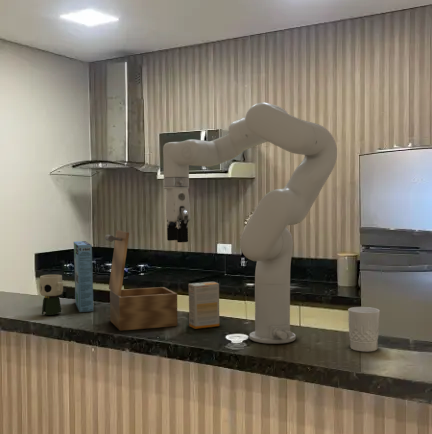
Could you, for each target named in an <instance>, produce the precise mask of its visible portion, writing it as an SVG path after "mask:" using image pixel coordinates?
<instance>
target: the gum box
mask: <svg viewBox="0 0 432 434" xmlns="http://www.w3.org/2000/svg"><path fill="white" fill-rule="evenodd" d="M73 261H74V265H73V266H74V298H75V300H74V301H75V302H74V304H75V305H76V308H77V310H78V312H79V313H86V312H87V313H88V312H94V280H93V279H94V278H93V277H94V276H93V245H92V244H91V243H89V242H88V241H86V240H84V241H83V240H80V241H79V240H77V241H73Z"/></svg>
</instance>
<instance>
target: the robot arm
mask: <svg viewBox="0 0 432 434" xmlns="http://www.w3.org/2000/svg"><path fill="white" fill-rule="evenodd" d="M266 143H270V144H272V145H274V146H276V147H278V148H280V149H282V150H284V151H287V152H289V153H292V154H294V155H301V156H302V155H303V156H304V157H303V159H302V161H301V163H299V164H298V166H297V167H296V168H295V169H294V171H293V172H292V175H291V177H290V178H289V180H288V181H287V183H286V184H285V186H284V187H282V188H276V189H272V190H270V191H269V192H266V194H265V195H264V196H263V197H262V198H261V199H260V200H259V202H258V204H257V206H256V207H255V209H254V211H253V213H252V215H251V216H250V218H249V219H248V222H247V223H246V225H245V226H244V228H243V230H242V233H241V235H240V240H239V246H240V251H241V253H242V255H244V257H245V258H247V259H248V260H250V261H253V262H256V263H255V264H256V265H255V272H254V330H253V331H252V332H250V333H249V335H248V336H249V340H250V341H253V342H255V343H259V344H270V345H271V344H272V345H279V344H280V345H281V344H288V343H292V342H294V341H295V340H296V339H297V336H296V334H295V333H294V332H292V331H291V263H292V255H293V249H294V239H293V235H292V232H291V231H290V230H289V229H288V228H287V227H288V226H293V225H298V224H301V222H303V221H304V220H305V218H306V217H307V215H308V214H309V212H310V210H311V208H312V206H313V204H314V203H315V201H316V200H317V198H318V197H319V195H320V193H321V191H322V189H323V187H324V185H325V184H326V182H327V181H328V179H329V177H330V175H331V174H332V172H333V171H334V168H335V165H336V163H337V158H338V148H337V144H336V141H335V138H334V137H333V134H332V133H331V132H330V131H329V129H327V128H326V127H324V126H323V125H321V124H319V123H316V122H313V121H308V120H303V119H301V118H298V117H296V116H294V115H291V114H289V112H288V111H287V110H285V108H283V107H281V106H279V105H276V104H273V103H270V102H257V103H255V104H253V105H251V107H250V108H249V109H248V110H247V112H246V114H245V116H244V117H242V118H239V119H237V120H234V121H232V122H231V123H230V124H229V126H228V133H226V134H225V135H223V136H220V137H218V138H215V139H212V140H210V141H208V140H201V139H192V138H191V139H186V140H183V141H169V142H166V143H164V145H163V146H162V152H163V153H162V155H163V157H162V159H163V160H162V162H163V189H164V190H166V191H165V218H166V240H167V241H169V242H170V241H176V242H177V243H188V242H189V222H190V221H191V205H190V204H191V203H190V202H191V201H190V193H189V189H190V167H189V166H193V167H206V168H208V167H209V168H210V167H214V166H217V165H220V164H223V163H225V162H227V161H231V160H233V159H234V158H236V157H238V156H240V155H241V154H242V153H243V152H245V151H247V150H249V149H252V148H254V147H257V146H260V145H262V144H266Z"/></svg>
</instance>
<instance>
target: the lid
mask: <svg viewBox="0 0 432 434" xmlns="http://www.w3.org/2000/svg"><path fill="white" fill-rule="evenodd" d="M115 232H116V233H115V236H114V235H112V234H105V236H104V240H105V241H108V242H114V245H113V246H114V247H113V253H112V261H111V267H110V269H111V270H110V274H109V275H110V276H109V284H108V290H109V291H110V290H111V291H113V292H114V293H115V294H116V295H118V296H121V290H123V281H124V274H125V268H126V259H127V252H128V245H129V237H130V232H128V231H124V230H120V229H116V231H115Z"/></svg>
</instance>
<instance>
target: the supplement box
mask: <svg viewBox="0 0 432 434" xmlns="http://www.w3.org/2000/svg"><path fill="white" fill-rule="evenodd" d="M188 323H189V324H188V326H189V327H190V328H192V329H194V330H199V329H206V328H214V327H220V326H221V325H220V284H219V283H218V282H215V281H203V282H192V283H188Z"/></svg>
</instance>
